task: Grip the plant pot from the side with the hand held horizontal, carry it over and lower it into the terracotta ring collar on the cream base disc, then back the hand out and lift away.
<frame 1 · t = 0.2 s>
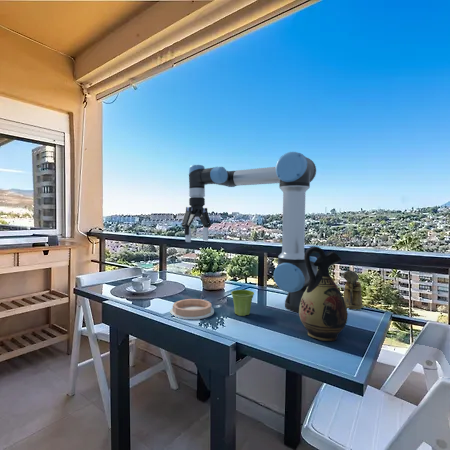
hand: (197, 241, 142), 27 cm above the table, tool pointing down, fingers open, 13 cm apart
ceramic jug: (319, 335, 98), on the table
plant pot: (242, 314, 119), on the table
stone figurine: (351, 308, 128), on the table
ring collar: (192, 311, 120), on the table
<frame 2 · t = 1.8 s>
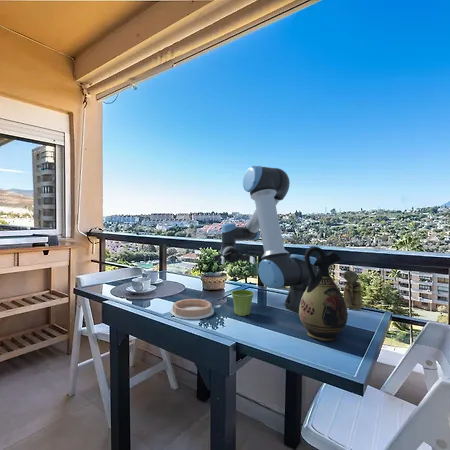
hand: (238, 261, 128), 20 cm above the table, tool horizontal, fingers open, 13 cm apart
nothing on the table moved.
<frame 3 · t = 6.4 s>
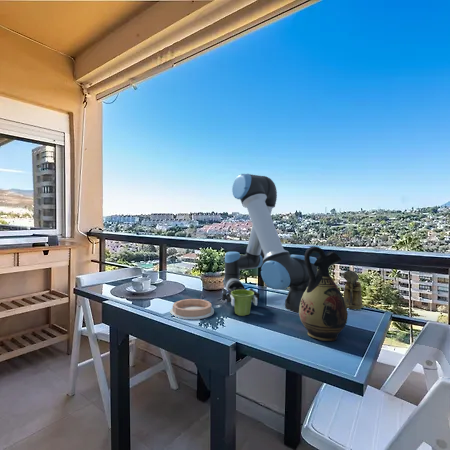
hand: (244, 302, 114), 6 cm above the table, tool horizontal, fingers closed on plant pot, 8 cm apart
plant pot: (242, 314, 119), on the table, touching gripper
everything else where it was.
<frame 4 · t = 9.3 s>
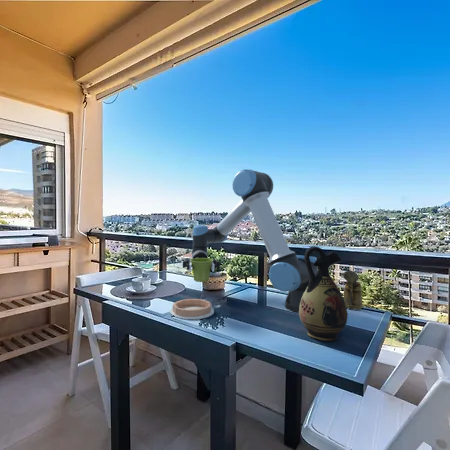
hand: (202, 268, 116), 19 cm above the table, tool horizontal, fingers closed on plant pot, 8 cm apart
plant pot: (201, 281, 121), point 13 cm above the table, touching gripper
everything else where it was.
when the fingers open (8 cm above the table, at t = 12.6 s): plant pot moves 3 cm, resting on ring collar.
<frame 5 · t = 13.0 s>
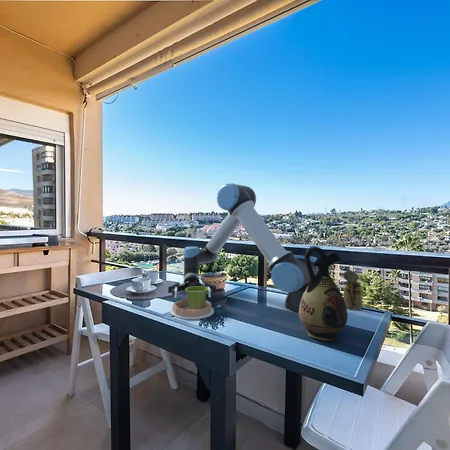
hand: (192, 294, 116), 8 cm above the table, tool horizontal, fingers open, 13 cm apart
plant pot: (197, 309, 121), resting on ring collar, touching gripper
everything else where it was.
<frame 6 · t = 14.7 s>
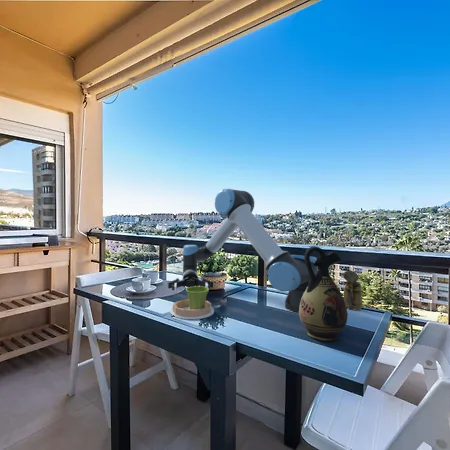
hand: (191, 289, 124), 8 cm above the table, tool horizontal, fingers open, 13 cm apart
plant pot: (197, 310, 121), resting on ring collar
everything else where it was.
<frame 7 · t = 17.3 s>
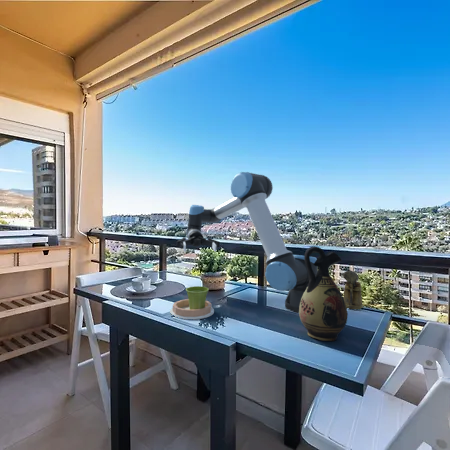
hand: (200, 248, 129), 25 cm above the table, tool horizontal, fingers open, 13 cm apart
nothing on the table moved.
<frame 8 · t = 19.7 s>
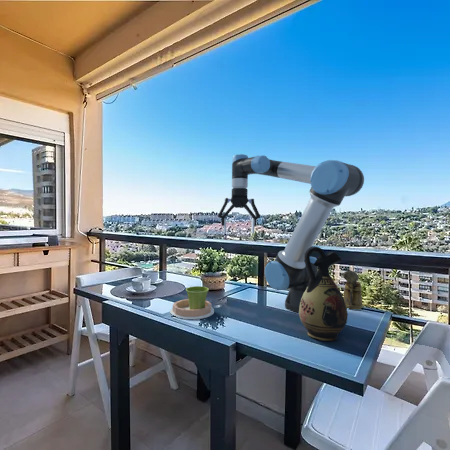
hand: (238, 233, 139), 32 cm above the table, tool pointing down, fingers open, 13 cm apart
nothing on the table moved.
at the end: plant pot 2.1 cm off-centre on the ring collar, point 0.4 cm above the ring collar's base; plant pot tilted 0°; the gripper is holding nothing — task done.
